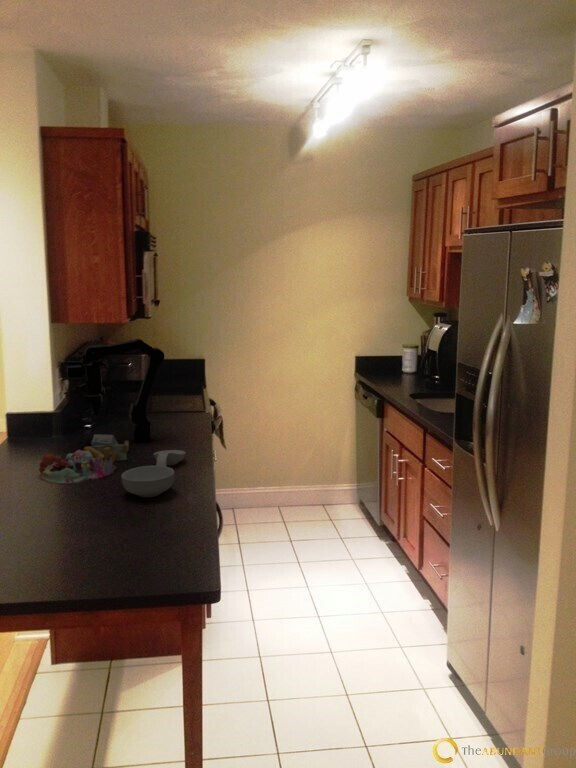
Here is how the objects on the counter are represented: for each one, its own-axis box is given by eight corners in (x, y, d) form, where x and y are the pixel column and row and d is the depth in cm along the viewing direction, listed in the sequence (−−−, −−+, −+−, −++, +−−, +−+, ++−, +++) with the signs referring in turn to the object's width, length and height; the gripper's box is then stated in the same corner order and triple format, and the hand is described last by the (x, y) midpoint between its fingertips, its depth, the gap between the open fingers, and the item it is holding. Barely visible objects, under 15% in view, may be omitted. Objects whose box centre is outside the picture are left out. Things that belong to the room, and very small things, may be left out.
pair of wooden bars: (128, 446, 280) (128, 432, 279) (126, 460, 262) (125, 444, 261) (95, 448, 278) (94, 433, 277) (91, 462, 260) (90, 446, 259)
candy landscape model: (78, 460, 264) (77, 436, 262) (128, 468, 254) (127, 443, 252) (28, 480, 242) (26, 454, 240) (81, 489, 232) (79, 462, 230)
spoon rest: (157, 458, 265) (156, 440, 264) (187, 458, 265) (187, 440, 264) (145, 478, 242) (144, 458, 240) (178, 478, 242) (178, 458, 240)
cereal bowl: (174, 483, 236) (174, 463, 235) (175, 500, 220) (174, 479, 219) (123, 486, 233) (122, 466, 232) (120, 504, 217) (119, 482, 216)
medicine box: (120, 446, 270) (113, 434, 263) (117, 456, 267) (110, 444, 260) (100, 446, 271) (93, 433, 264) (97, 455, 268) (90, 443, 261)
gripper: (76, 373, 285) (78, 410, 288) (70, 382, 267) (72, 421, 270) (103, 372, 287) (106, 409, 290) (100, 381, 269) (102, 420, 272)
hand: (96, 414), depth 281 cm, fingers closed
